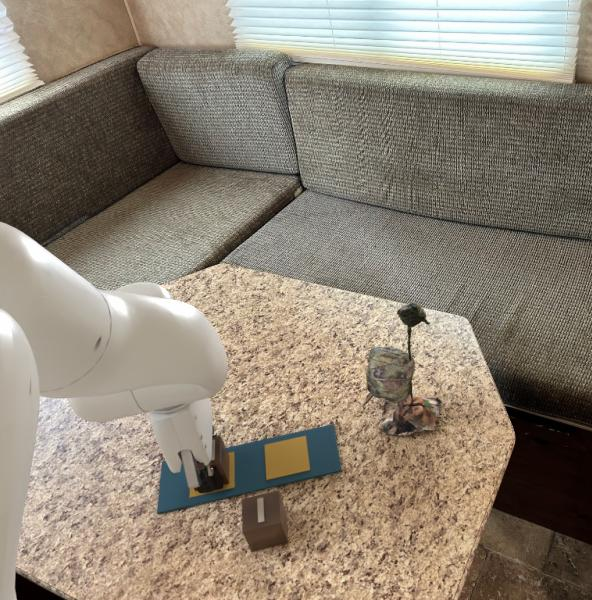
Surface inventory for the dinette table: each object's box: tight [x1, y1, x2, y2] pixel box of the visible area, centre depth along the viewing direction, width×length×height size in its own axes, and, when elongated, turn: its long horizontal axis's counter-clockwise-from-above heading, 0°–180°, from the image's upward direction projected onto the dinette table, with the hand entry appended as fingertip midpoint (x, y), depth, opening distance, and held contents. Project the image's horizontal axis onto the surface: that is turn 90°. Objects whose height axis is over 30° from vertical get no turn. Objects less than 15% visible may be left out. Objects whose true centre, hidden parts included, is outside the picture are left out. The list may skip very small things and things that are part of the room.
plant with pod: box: [361, 301, 443, 437], centre depth 81 cm, size 8×11×20 cm
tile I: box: [241, 489, 290, 552], centre depth 73 cm, size 4×4×5 cm
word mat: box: [156, 423, 343, 515], centre depth 82 cm, size 8×24×1 cm, turn 102°
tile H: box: [194, 435, 229, 491], centre depth 80 cm, size 4×4×5 cm
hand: (211, 471), depth 81 cm, fingers closed on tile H, 4 cm apart
